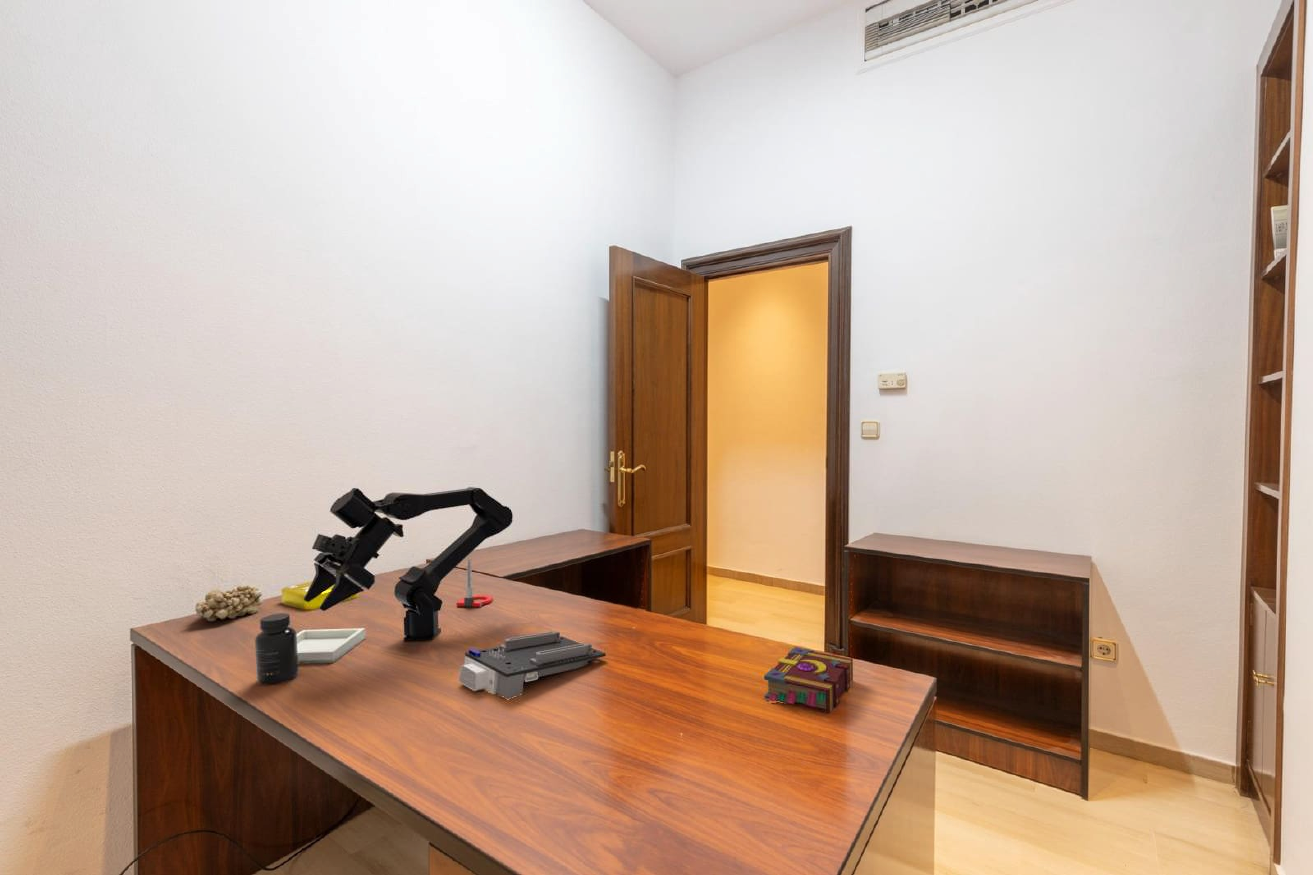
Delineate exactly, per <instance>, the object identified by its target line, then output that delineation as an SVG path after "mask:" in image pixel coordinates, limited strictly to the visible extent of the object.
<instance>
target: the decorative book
mask: <svg viewBox="0 0 1313 875" xmlns="http://www.w3.org/2000/svg"><path fill="white" fill-rule="evenodd" d="M853 664H854V662H853V658H849V657H843V656H838V655H835V654H833V655H832V654H829V653H822V652H818V651H814V650H813V649H808V648H803V649H802V647H797V646H794V647H793V648H792V649H790V651H788V653H787V655H786V656H785V657H780V658H779V659H778V661H777V665H776V666H775V667H772V668H771V669H769V671H767V673H765V674H764V676H763V679H764V681H767V686H768V688H767V689H768V691H767V692H766V693H765V694H764V699H765V698H766V699H769V700H771V701H780V702H783V703H786V704H787V705H791V706H795V705H796V706H795V707H799V708H803V709H808V710H812V711H816V712H820V713H823V714H828V715H829V714H830V713H831V711H832V710H833V708H835V709H837V707H838V706H839V705H840V703H841V702H840V699H841V697H842V696H843V694H844V693H848V692H849V690H850V689H851V683H852V682H853V681H854V680H853V679H854V669H853V668H854V667H853V666H854V665H853ZM769 700H768V701H769Z"/></svg>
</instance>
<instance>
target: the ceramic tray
mask: <svg viewBox="0 0 1313 875" xmlns="http://www.w3.org/2000/svg"><path fill="white" fill-rule="evenodd" d="M296 634H297V650H298V665H299V664H300V665H301V664H328V663H331V664H333V663H335V662H336V661H337V660H339V659H340V658H341V657H343V656H344V655H345V654H347V653H348V652H349V651H350V650H351V649H353V648H355V647H356V646H357V645H358V644H359V643H361V642H362V641H363V640H365V639H366V627H365V628H363V627H362V628H359V627H358V628H332V629H329V628H328V629H327V628H326V629H325V628H324V629H303V630H301V631H300V632H298V633H296Z"/></svg>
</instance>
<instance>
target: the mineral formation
mask: <svg viewBox="0 0 1313 875" xmlns="http://www.w3.org/2000/svg"><path fill="white" fill-rule="evenodd" d="M262 596H263V594H262V591H261V588H259V587H255V585H254V584H247V585H246V586H244V584H240V585H238V586H237V587H236V588H232V590H230V589H228V590H226V591H223V590H219V589H217V588H216V589H214V590H211V591H210V592H208V593H207V594H206V595H205V597H204V601H198V602H197V603H196V605H195V610H194V611H195V612H196V615H197V616H199V618H201V619H203V618H205V619H206V620H207V621H208V622H215V621H216V620H218V619H220V620H225V619H226V618H229V619H232V620H233V619H235V618H236V617H241V616H242V617H243V616H245V615H246V614H247V613H248V614H249V615H254V614H256V612H258V610H259V608H260V606H262V604H263V603H264V601H263V599H262V598H261V597H262Z"/></svg>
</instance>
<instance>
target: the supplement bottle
mask: <svg viewBox="0 0 1313 875" xmlns="http://www.w3.org/2000/svg"><path fill="white" fill-rule="evenodd" d="M290 618H291V617H290V613H286V612H285V613H283V612H281V613H274V614H269V615H267V616H263V617H262V618H260V620H259V624H260V625H259V629H260V631H261V632H259V633H258V634H257V635H256V637H255V639H254V648H255V649H254V651H255V665H256V666H255V667H256V680H257V683H258V684H260V685H262V686H273V685H279V684H282V683H286V682H288V681H291V680H292V679H294V678H295V677H297V676H298V673H299V664H298V650H297V634H298V633H297V630H296V629H295V628H294V627H292V626H290V625H291V620H290Z"/></svg>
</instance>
